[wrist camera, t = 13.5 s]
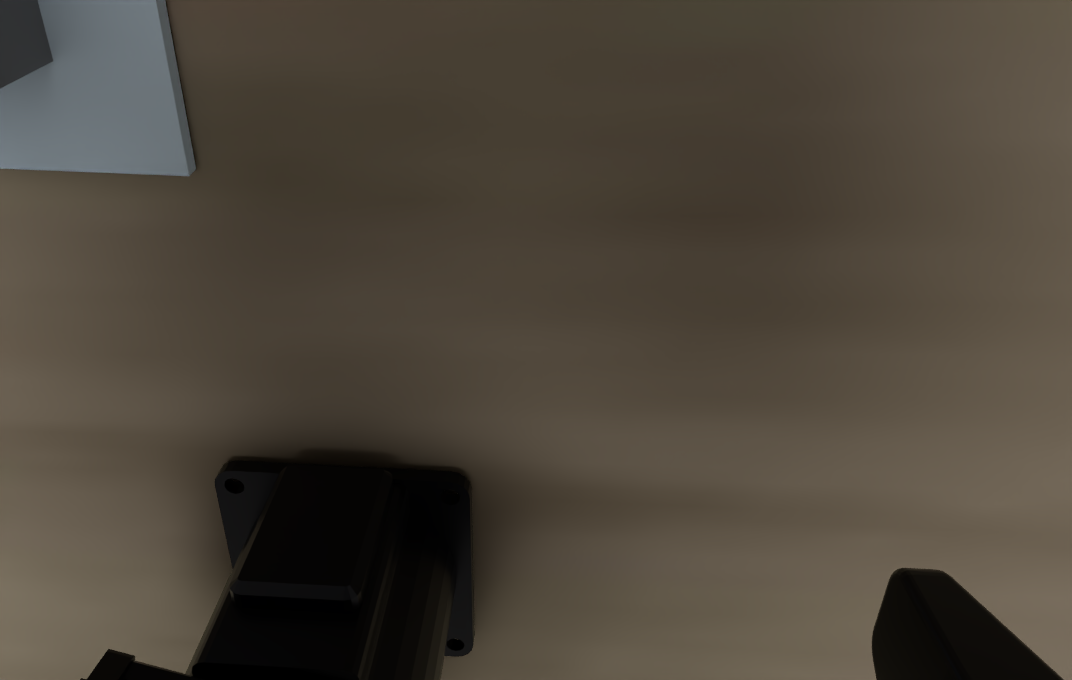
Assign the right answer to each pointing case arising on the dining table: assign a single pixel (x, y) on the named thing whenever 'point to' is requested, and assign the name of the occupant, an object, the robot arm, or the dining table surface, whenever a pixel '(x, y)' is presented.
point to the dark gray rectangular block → (21, 40)
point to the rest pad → (100, 94)
